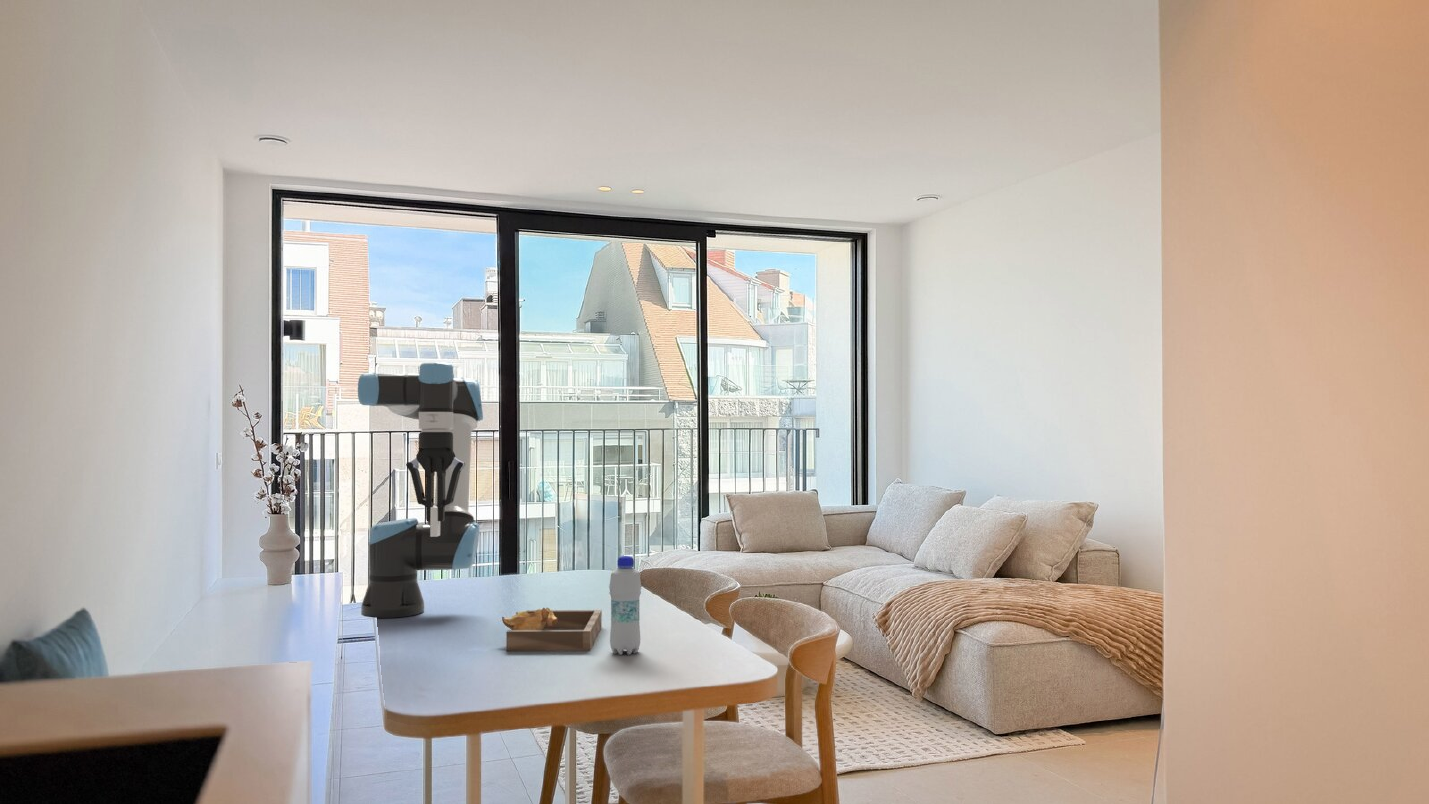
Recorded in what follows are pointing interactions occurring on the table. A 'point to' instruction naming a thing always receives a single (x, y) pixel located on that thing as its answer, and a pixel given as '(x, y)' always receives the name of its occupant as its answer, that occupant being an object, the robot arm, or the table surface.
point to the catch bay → (559, 633)
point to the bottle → (625, 607)
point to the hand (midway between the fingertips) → (435, 535)
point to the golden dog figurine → (531, 620)
